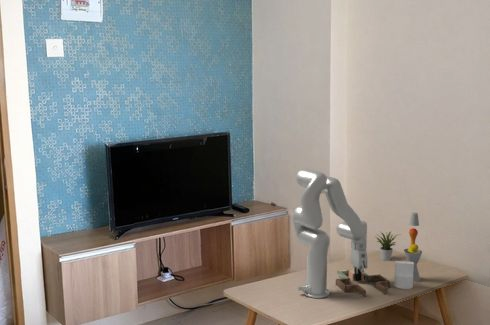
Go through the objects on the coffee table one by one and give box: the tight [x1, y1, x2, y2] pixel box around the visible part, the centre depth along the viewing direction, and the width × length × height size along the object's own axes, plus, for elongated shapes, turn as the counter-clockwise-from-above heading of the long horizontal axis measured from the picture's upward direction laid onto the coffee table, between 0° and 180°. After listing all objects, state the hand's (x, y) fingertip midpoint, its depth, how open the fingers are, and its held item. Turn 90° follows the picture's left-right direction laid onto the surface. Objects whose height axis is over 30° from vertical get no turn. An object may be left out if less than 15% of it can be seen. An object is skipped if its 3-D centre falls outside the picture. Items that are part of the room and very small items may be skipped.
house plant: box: [375, 231, 402, 261], centre depth 327 cm, size 14×14×16 cm
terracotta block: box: [348, 269, 365, 282], centre depth 296 cm, size 6×6×4 cm
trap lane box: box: [335, 268, 391, 298], centre depth 288 cm, size 24×29×3 cm
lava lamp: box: [403, 212, 423, 283], centre depth 293 cm, size 9×9×35 cm
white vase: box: [393, 260, 414, 290], centre depth 286 cm, size 9×9×12 cm
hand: (357, 280), depth 291 cm, fingers closed
